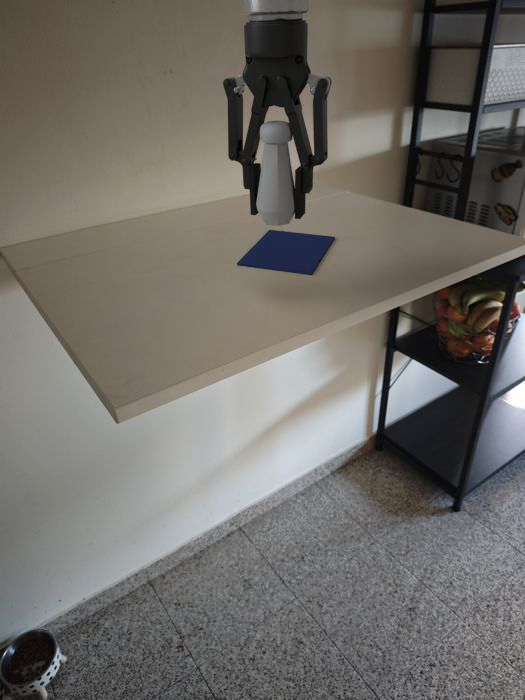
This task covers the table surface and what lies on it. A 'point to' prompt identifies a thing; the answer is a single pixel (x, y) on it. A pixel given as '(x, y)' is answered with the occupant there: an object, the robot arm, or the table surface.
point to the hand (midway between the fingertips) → (277, 213)
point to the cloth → (287, 252)
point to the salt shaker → (276, 175)
